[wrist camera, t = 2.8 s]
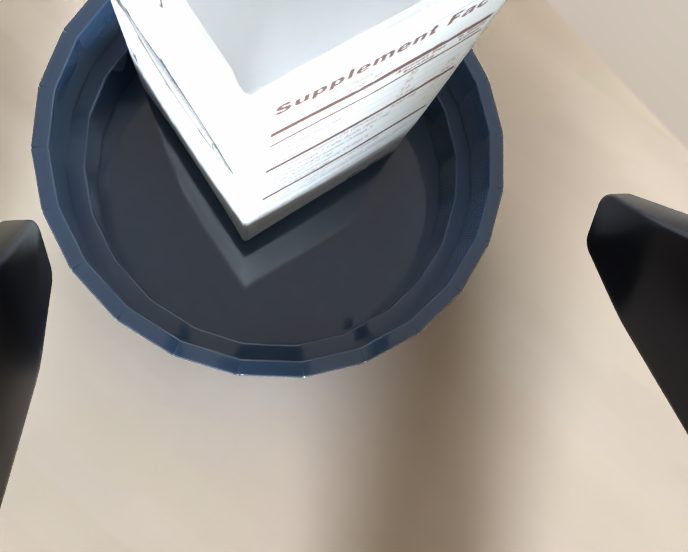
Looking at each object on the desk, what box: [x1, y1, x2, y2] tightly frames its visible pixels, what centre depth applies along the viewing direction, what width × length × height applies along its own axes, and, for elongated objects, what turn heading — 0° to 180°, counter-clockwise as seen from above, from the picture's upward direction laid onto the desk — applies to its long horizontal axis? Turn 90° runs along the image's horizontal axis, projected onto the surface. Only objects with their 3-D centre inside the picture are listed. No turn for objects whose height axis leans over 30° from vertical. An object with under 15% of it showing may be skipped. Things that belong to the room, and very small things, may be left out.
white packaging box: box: [111, 0, 506, 241], centre depth 17 cm, size 7×7×13 cm
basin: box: [31, 0, 503, 378], centre depth 21 cm, size 15×15×4 cm
